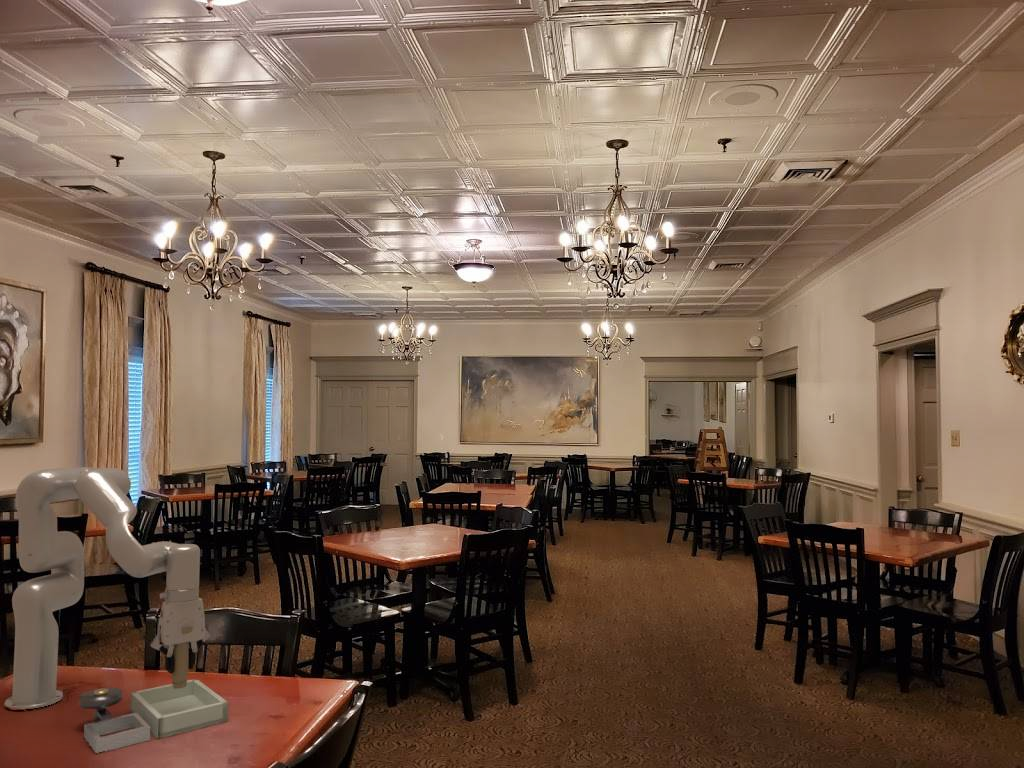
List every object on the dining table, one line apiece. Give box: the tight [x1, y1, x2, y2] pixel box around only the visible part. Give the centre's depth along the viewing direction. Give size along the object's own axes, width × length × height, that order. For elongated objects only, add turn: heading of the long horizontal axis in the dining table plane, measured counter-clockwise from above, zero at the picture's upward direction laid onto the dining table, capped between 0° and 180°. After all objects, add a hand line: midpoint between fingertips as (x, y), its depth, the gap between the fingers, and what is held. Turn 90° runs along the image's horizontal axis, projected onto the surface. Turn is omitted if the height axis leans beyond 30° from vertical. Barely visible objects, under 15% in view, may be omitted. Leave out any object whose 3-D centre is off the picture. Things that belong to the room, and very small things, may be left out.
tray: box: [129, 678, 229, 740], centre depth 183 cm, size 22×16×4 cm
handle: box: [171, 626, 193, 689], centre depth 184 cm, size 5×6×15 cm
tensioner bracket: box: [78, 686, 151, 754], centre depth 173 cm, size 21×11×8 cm, turn 42°
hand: (180, 669), depth 184 cm, fingers closed on handle, 4 cm apart
